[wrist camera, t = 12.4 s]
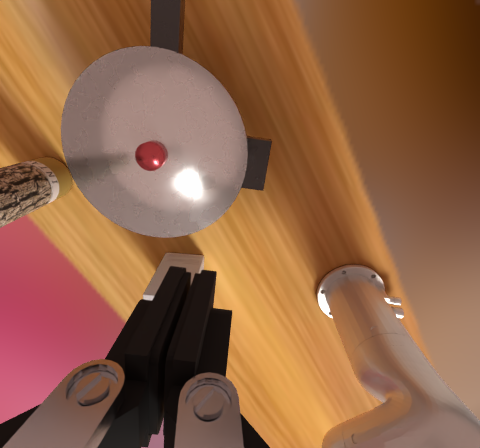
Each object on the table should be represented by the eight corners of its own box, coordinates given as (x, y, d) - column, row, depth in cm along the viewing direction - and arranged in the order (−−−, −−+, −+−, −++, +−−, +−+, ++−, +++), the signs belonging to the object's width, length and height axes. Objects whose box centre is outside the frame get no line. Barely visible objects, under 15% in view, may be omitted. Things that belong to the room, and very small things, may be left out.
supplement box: (165, 251, 53) (141, 293, 41) (204, 254, 53) (192, 297, 41) (166, 284, 56) (144, 332, 44) (203, 287, 56) (192, 336, 44)
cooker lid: (261, 64, 30) (262, 60, 26) (235, 242, 38) (234, 255, 35) (59, 34, 29) (35, 25, 26) (77, 221, 37) (61, 232, 34)
